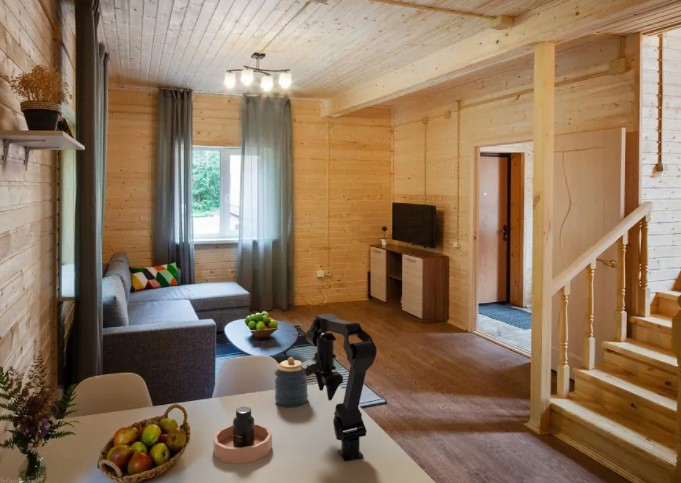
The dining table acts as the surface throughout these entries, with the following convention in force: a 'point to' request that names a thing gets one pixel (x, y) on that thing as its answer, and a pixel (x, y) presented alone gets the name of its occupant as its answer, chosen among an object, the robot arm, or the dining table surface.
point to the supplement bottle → (243, 428)
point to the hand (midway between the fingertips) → (325, 395)
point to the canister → (290, 384)
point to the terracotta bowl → (245, 454)
